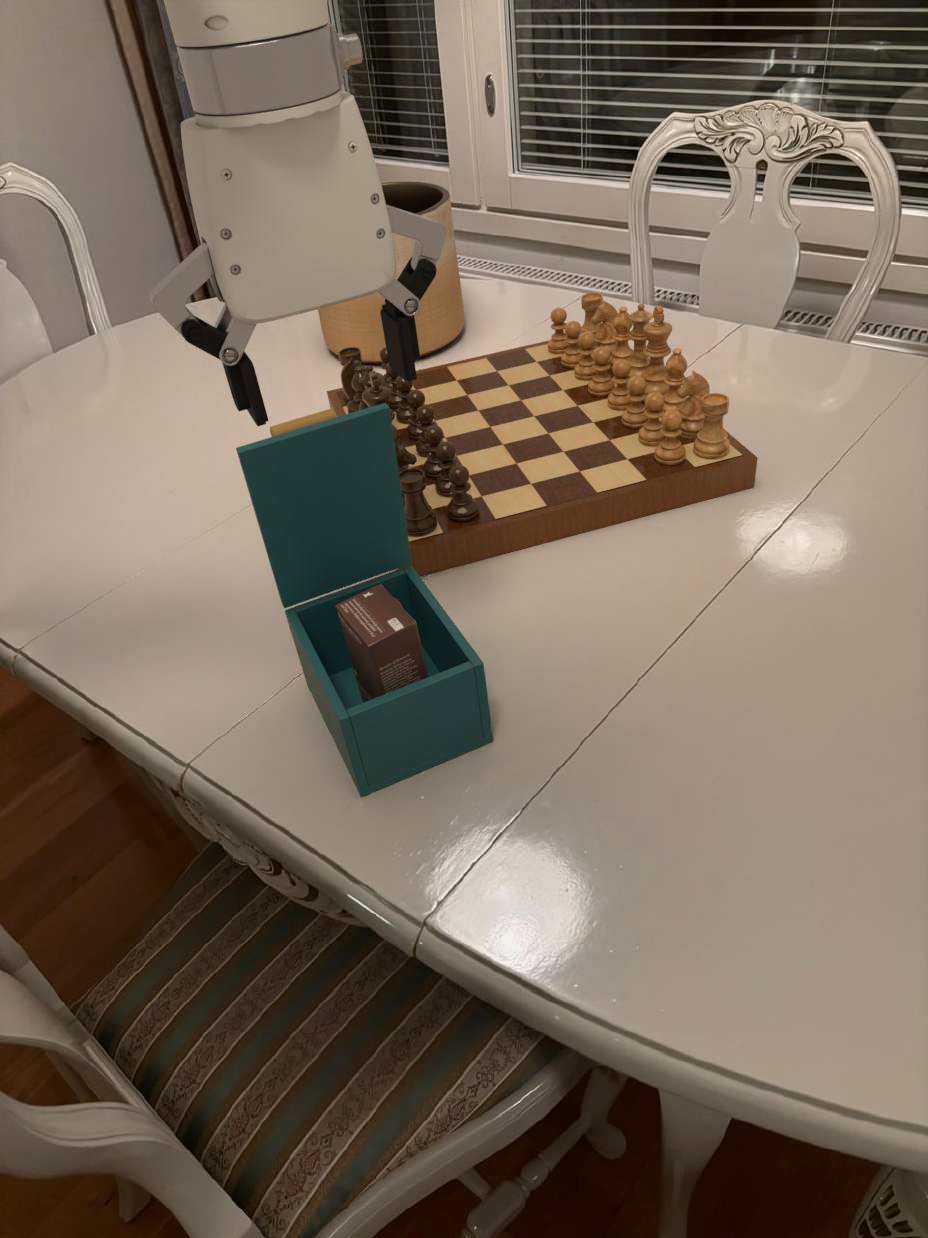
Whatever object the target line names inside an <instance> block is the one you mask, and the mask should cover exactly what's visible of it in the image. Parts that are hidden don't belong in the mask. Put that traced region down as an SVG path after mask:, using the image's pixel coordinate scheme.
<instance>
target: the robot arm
mask: <svg viewBox="0 0 928 1238" xmlns="http://www.w3.org/2000/svg"><path fill="white" fill-rule="evenodd" d="M163 2H164V3H163V4H164V8H165V11H166V15H167V19H168V21H169V22H168V23H169V26H170V29H171V33H172V37H173V40H174V45H175V46H176V51H177V55H178V59H179V62H180V66H181V70H182V75H183V77H184V81H185V85H186V89H187V92H188V96H189V100H190V103H191V108H192V111H193V114H194V115H193V117H188V118H186V119H183V120H182V121H181V122H180V135H181V147H182V153H183V161H184V167H185V169H184V170H185V175H186V180H187V187H188V191H189V197H190V202H191V205H192V210H193V214H194V221H195V224H196V225H195V226H196V228H197V233H198V237H199V241H200V245H198V246H197V247H196V248H195V249H194V250H193V251H192V252H191V253H190V254H189V255H188V256H186V257H185V259H183V260H182V261H181V262H180V263H179V264H178V265H177V266H176V267H175V268H173V270H171V271H170V272H169V273H168V274H167V275H166V276H165V277H164V278H163V279H162V280H161V281H159V282H158V283H157V284H156V285H155V286H154V287H153V288H152V289H151V290H150V292H149V295H148V298H149V300H150V302H151V304H152V306H153V308H154V309H155V311H157V312H158V313H159V314H160V316H161V317H162V318H163V319H164V320H166V322H167V323H168V324H169V325H170V326H171V327H172V328H173V329H174V330H175V331H177V332H178V333H179V335H181V336H182V337H183V339H184V340H185V341H186V342H187V343H189V344H190V345H192V346H193V347H195V348H197V349H199V350H201V351H203V352H204V353H207V354H208V355H210V356H212V357H214V358H216V359H218V360H219V361H221V363H222V367H223V370H224V374H225V377H226V380H227V383H228V388H229V390H230V395H231V398H232V400H233V402H234V405H235V408H236V409H237V411H238V412H241V411H242V412H243V411H246V410H247V413H248V414H249V415H250V417H251V419H252V420H253V421H254V423H255V425H256V426H257V427H261V426H265V425H267V422H269V416H268V413H267V409H266V406H265V402H264V398H263V395H262V391H261V388H260V384H259V379H258V376H257V373H256V368H255V366H254V363H253V361H252V359H250V357H249V355H248V354H247V353H246V351H245V350H246V348H247V346H248V344H249V342H250V339H251V337H252V335H253V333H254V331H255V329H256V327H257V325H258V324H259V325H260V324H265V323H269V322H273V321H278V320H279V321H280V320H282V319H285V318H290V317H293V316H297V315H302V314H305V313H309V312H312V311H316V310H317V311H318V309H321V308H324V307H328V306H332V305H335V304H339V303H343V302H347V301H350V300H354V299H357V298H361V297H364V296H368V295H371V294H374V293H376V292H379V293H380V294H381V295H382V296H383V297H385V298H386V299H385V304H384V305H382V310H380V314H381V320H382V326H383V332H384V338H385V344H386V350H387V355H388V361H389V365H390V367H391V368H392V369H393V370H394V371H395V372H396V373H397V374H398V375H399V376H400V377H401V378H403V379H404V380H407V381H408V382H409V381H413V380H416V379H417V375H416V371H417V370H416V363H415V361H417V360H420V358H421V357H420V352H419V345H418V338H417V331H416V324H415V317H414V315H415V314H417V313H418V311H419V310H420V300H421V298H422V297H423V295H424V294H425V292H426V291H427V289H428V287H429V286H430V284H431V283H432V281H433V279H434V278H435V276H436V272H437V270H436V264H437V261H439V258H440V254H441V251H442V248H443V244H444V241H445V238H446V233H447V232H446V228H445V227H444V226H443V225H442V224H440V223H438V222H436V221H435V220H432V219H429V218H426V217H423V216H420V215H417V214H414V213H411V212H408V211H404V210H401V209H398V208H395V207H392V206H389V205H386V202H385V198H384V194H383V189H382V185H381V183H382V182H381V178H380V174H379V170H378V167H377V163H376V159H375V156H374V153H373V148H372V146H371V143H370V139H369V136H368V133H367V129H366V127H365V122H364V121H363V118H362V115H361V111H360V109H359V105H358V104H357V101H356V99H355V95H353V94H351V93H350V92H348V91H345V90H342V86H344V85H345V82H344V75H345V70H349V69H350V67H351V66H354V65H359V64H360V65H361V64H362V62H363V57H364V56H363V48H362V44H361V43H362V42H361V40H360V37H359V35H358V34H357V33H350V34H343V32H338V31H337V30H336V27H335V25H334V24H332V23H330V17H329V16H330V15H329V9H328V4H327V0H163ZM392 232H393V233H396V234H399V235H402V236H406V237H409V238H412V239H414V241H415V246H414V250H413V251H414V254H413V256H412V257H411V258H410V260H409V261H408V263H407V265H406V266H405V268H404V269H403V271H402V273H401V274H400V276H399V278H398V279H397V280H396V279H395V275H396V255H395V247H394V241H393V236H392ZM208 280H210V283H211V286H212V289H213V292H214V294H215V296H216V298H217V300H218V301H219V302H220V303H223V307H222V308H221V311H220V313H219V315H218V318H217V319H216V322H215V324H214V326H213V325H212V324H210V323H209V322H206V321H205V320H203V319H201V318H199V317H198V316H196V315H194V314H193V313H192V312H191V311H190V309H189V308H188V307H187V305H186V304H187V301H188V299H189V298H191V296H192V295H193V294H195V293H196V292H197V290H199V289H200V288H201V287H202V286H203V285H204V284H205V283H206V282H207V281H208Z"/></svg>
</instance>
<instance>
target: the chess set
mask: <svg viewBox="0 0 928 1238" xmlns="http://www.w3.org/2000/svg"><path fill="white" fill-rule="evenodd" d="M580 304H581V310H583V311H584V320H583V324H582V325H581V324H580V322H578V321H576V320H570V321H568V322H566V321H567V317H568V313H567V310H566V309H564V308H562V307H556V308H553V309H552V310H551V312H550V320H551V322H552V323H551V325H550V328H551V329H552V330H553V331H554V333H553V334H552V335H551V336H550V339H549V340H545V341H541V342H540V341H539V342H536V343H532V344H528V345H522V346H518V347H514V348H509V349H506V350H505V349H504V350H500V351H496V352H492V353H488V354H484V355H479V356H475V357H471V358H465V359H462V360H457V361H453V362H448V363H444V364H440V365H435V366H431V367H427V368H423V369H418V370H416V375H417V379H416V380H413V381H409V382H408V381H407V380H404V379H403V378H401V377H400V376H399V375H398V374H397V373H396V372H395V371H394V370H393V369H392V368H391V367H390V365H389V361H388V355H387V350H386V347H385V348H383V349H382V350H381V351H380V354H379V356H380V360H381V361H382V362H383V364H381V365H380V368H381V369H382V370H385V373H384V374H382V373H380V372H377V371H376V370H374V367H373V366H372V365H367V366H364V365H363V363H361V362H362V356H361V351H360V349H359V348H356V347H349V348H345V349H342V350H341V351H340V352H339V355H338V360H339V362H340V363H339V364H340V366H342V368H341V372H340V381H341V386H342V387H338V388H334V389H331V390H327V391H326V396H327V399H328V404H329V409H332V410H333V411H334V413H335V416H336V417H340V416H343V415H346V414H350V413H353V412H356V411H360V410H363V409H366V408H370V407H373V406H376V405H379V404H383V403H386V404H387V405H388V406H389V409H390V416H391V423H392V430H393V436H394V443H395V450H396V457H397V464H398V471H399V478H400V484H401V491H402V498H403V505H404V512H405V519H406V525H407V532H408V539H409V546H410V553H411V560H412V563H411V564H408V565H405V566H402V567H400V568H397V569H395V571H396V570H399V569H402V568H405V567H407V566H410V565H411V566H412V567H413V568H414V570H415V571H416V572H417V574H418V575H419V576H420V577H422V576H426V575H431V574H434V573H437V572H441V571H444V570H449V569H452V568H453V569H454V568H457V567H461V566H464V565H467V564H472V563H476V562H480V561H483V560H486V559H491V558H494V557H498V556H501V555H505V554H508V553H513V552H517V551H520V550H523V549H524V550H525V549H527V548H532V547H535V546H539V545H542V544H546V543H550V542H555V541H557V540H561V539H565V538H570V537H572V536H577V535H580V534H584V533H588V532H591V531H595V530H598V529H602V528H607V527H611V526H615V525H617V524H621V523H625V522H629V521H633V520H637V519H640V518H643V517H644V518H645V517H648V516H651V515H655V514H658V513H663V512H666V511H670V510H673V509H677V508H681V507H685V506H689V505H693V504H696V503H700V502H704V501H708V500H711V499H715V498H718V497H722V496H726V495H730V494H734V493H738V492H741V491H745V490H748V489H753V488H755V484H756V483H755V482H756V475H757V474H756V473H757V466H758V458H759V457H758V456H756V455H755V454H754V453H753V452H752V451H751V450H749V448H747V447H746V446H745V445H743V443H741V442H740V441H739V440H738V439H737V438H735V437H734V436H733V435H731V433H729V432H728V431H727V430H726V429H725V428H724V417H725V416H726V415H727V414H728V413H729V408H730V397H729V396H728V395H726V394H724V393H719V392H711V393H710V383H709V382H708V380H707V379H706V378H705V377H704V375H702V374H701V373H698V372H696V370H695V371H694V370H693V369H692V371H691V375H688V376H685V373H686V372H687V370H688V367H689V366H688V361H687V359H686V358H685V356H684V354H682V353H683V350H682V349H681V348H680V347H679V348H678V347H676V348H674V349H671V347H670V346H669V344H668V341H669V338H670V336H671V333H672V331H673V325H672V324H671V323H670V322H668V321H665V313H664V311H665V310H664V307H663V306H662V305H656V306H654V308H653V309H654V310H653V311H652V313H651V312H650V311H647V310H646V309H645V304H644V303H639V304H638V305H637V310H636V311H633V312H632V313H629V312H628V307H627V306H620V307H619V308H618V311H617V309H616V307H615V306H613V304H611V303H609V302H607V301H606V300H604V295H603V294H602V293H599V292H588V293H585V294H583V295H582V296H581V299H580ZM652 319H653V321H651V320H652ZM629 341H632V342H633V348H631V347H630V344H629ZM671 353H672V354H671ZM669 355H670V356H669ZM668 356H669V357H668ZM666 357H668V359H667V360H666V362H665V358H666Z"/></svg>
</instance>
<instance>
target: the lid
mask: <svg viewBox="0 0 928 1238" xmlns="http://www.w3.org/2000/svg"><path fill="white" fill-rule="evenodd" d="M269 433H270V436H271V437H267V438H264V439H260V440H257V441H254V442H251V443H247V444H244V445H240V446H237V447H236V448H235V450H236V453H237V456H238V461H239V463H240V464H239V465H240V467H241V470H242V474H243V477H244V480H245V483H246V487H247V491H248V494H249V497H250V500H251V504H252V508H253V511H254V514H255V517H256V521H257V524H258V528H259V531H260V535H261V538H262V541H263V545H264V548H265V552H266V555H267V558H268V562H269V566H270V569H271V572H272V575H273V578H274V582H275V585H276V590H277V592H278V596H279V599H280V601H281V605H282V607H283V609H287V608H291V607H292V606H293V607H294V606H297V605H298V604H302V603H305V602H308V601H311V600H314V599H316V598H319V597H322V596H325V595H328V594H330V593H333V592H336V591H339V590H342V589H344V588H347V587H350V586H353V585H356V584H358V583H361V582H364V581H367V580H370V579H373V578H375V577H376V576H377V577H378V576H381V575H384V574H387V573H389V572H392V571H395V570H396V569H397V568H400V567H402V566H405V565H408V564H411V563H412V560H411V553H410V546H409V539H408V532H407V525H406V519H405V512H404V505H403V498H402V491H401V484H400V478H399V471H398V464H397V457H396V450H395V443H394V436H393V430H392V423H391V416H390V409H389V406H388V405H387V404H386V403H383V404H379V405H376V406H373V407H370V408H366V409H363V410H360V411H356V412H353V413H350V414H346V415H343V416H340V417H336V416H335V413H334V411H333V410H332V409H330V408H329V409H325V410H322V411H318V412H315V413H312V414H308V415H305V416H301V417H298V418H295V419H291V420H288V421H284V422H282V423H278V424H275V425H272V426H269Z"/></svg>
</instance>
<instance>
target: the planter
mask: <svg viewBox="0 0 928 1238" xmlns="http://www.w3.org/2000/svg"><path fill="white" fill-rule="evenodd" d="M381 185H382V189H383V194H384V198H385V202H386V205H389V206H392V207H395V208H398V209H401V210H404V211H408V212H411V213H414V214H417V215H420V216H423V217H426V218H429V219H432V220H435V221H436V222H438V223H440V224H442V225H443V226H444V227H445V228H446V232H447V233H446V238H445V241H444V244H443V248H442V251H441V254H440V258H439V261H437V264H436V270H437V272H436V276H435V278H434V279H433V281H432V283H431V284H430V286H429V287H428V289H427V291H426V292H425V294H424V295H423V297H422V298H421V300H420V310H419V311H418V313H417V314H415V315H414V317H415V324H416V331H417V338H418V345H419V352H420V358H423V357H425V356H428V355H431V354H434V353H436V352H437V351H440V350H442V349H443V348H445V347H447V346H448V345H449V344H450V343H452V342H453V341H454V340H455V339H456V338H457V337H458V336H460V333H461V332H462V331H463V329H464V326H465V310H464V302H463V293H462V285H461V278H460V277H461V276H460V268H459V262H458V253H457V246H456V245H457V244H456V237H455V228H454V220H453V219H454V218H453V211H452V203H451V195H450V192H449V190H448V189H446V187H443V186H441V185H438V184H435V183H431V182H424V181H389V182H388V181H387V182H381ZM392 236H393V241H394V247H395V255H396V275H395V279H396V280H397V279H398V278H399V276H400V274H401V273H402V271H403V269H404V268H405V266H406V265H407V263H408V261H409V260H410V258H411V257H412V256H413V254H414V251H413V250H414V246H415V241H414V239H412V238H409V237H406V236H402V235H399V234H396V233H393V232H392ZM385 299H386V298H385V297H383V296H382V295H381V294H380V293H379V292H376V293H374V294H371V295H368V296H364V297H361V298H357V299H354V300H350V301H347V302H343V303H339V304H335V305H332V306H328V307H324V308H321V309H317V312H318V317H319V322H320V327H321V332H322V336H323V340H324V342H325V346H326V347H327V349H328V350H329V351H330V352H332V353H333V354H335V355H337V356H339V352H340V351H341V350H342V349H345V348H349V347H356V348H359V349H360V351H361V356H362V362H361V364H374V365H376V364H377V365H378V364H379V365H380V364H381V365H382V364H383V362H382V361H381V360H380V356H379V354H380V351H381V350H382V349H383V348H385V347H386V344H385V338H384V332H383V326H382V320H381V314H380V310H382V305H384V304H385Z"/></svg>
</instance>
